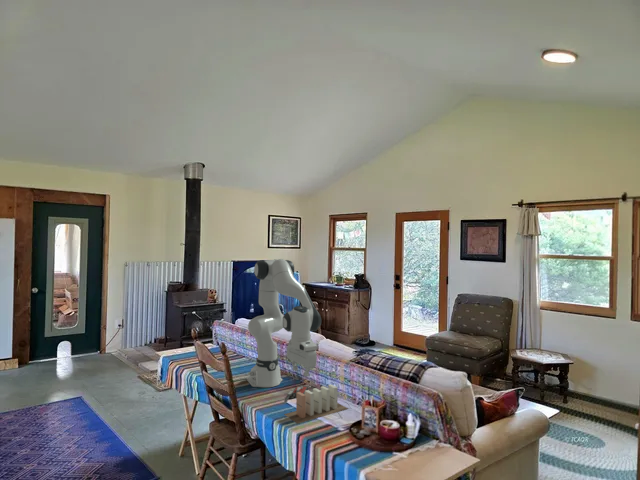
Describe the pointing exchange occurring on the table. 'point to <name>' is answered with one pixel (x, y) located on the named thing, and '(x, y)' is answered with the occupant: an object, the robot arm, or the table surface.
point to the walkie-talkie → (293, 393)
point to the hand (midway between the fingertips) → (300, 373)
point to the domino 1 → (301, 404)
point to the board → (316, 415)
